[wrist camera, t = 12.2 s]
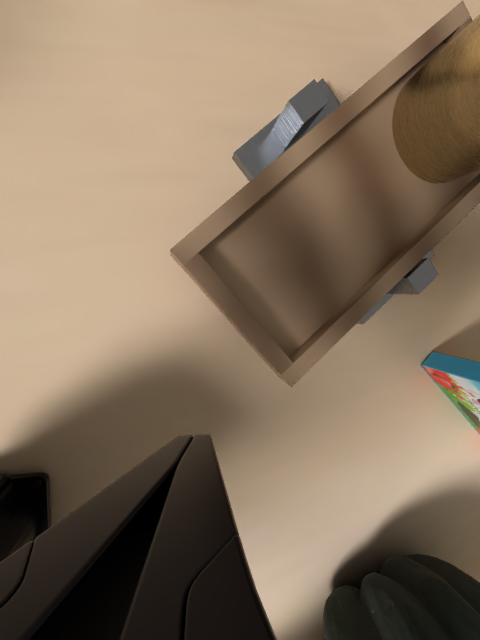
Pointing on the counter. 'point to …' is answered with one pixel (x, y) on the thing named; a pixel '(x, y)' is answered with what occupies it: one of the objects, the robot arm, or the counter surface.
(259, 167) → the pivot stand
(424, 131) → the cylinder
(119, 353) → the counter surface
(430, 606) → the squash
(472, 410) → the yogurt
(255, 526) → the counter surface
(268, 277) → the brown wooden tray
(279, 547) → the counter surface
